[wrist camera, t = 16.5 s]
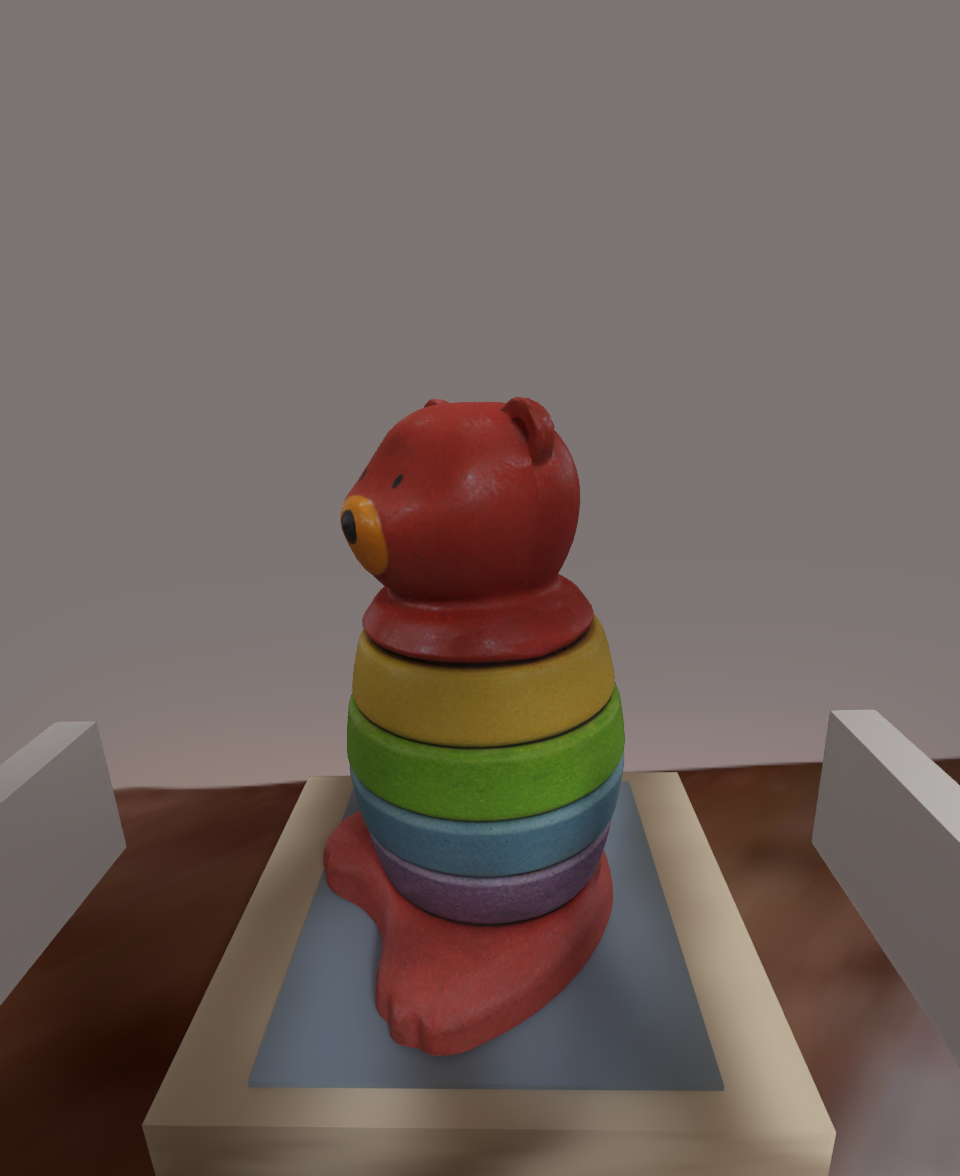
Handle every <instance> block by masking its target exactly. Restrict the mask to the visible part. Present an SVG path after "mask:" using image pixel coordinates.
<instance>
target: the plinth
mask: <svg viewBox="0 0 960 1176" xmlns="http://www.w3.org/2000/svg"><path fill="white" fill-rule="evenodd" d="M358 811H360V808H359V805H358V802H357V798H356V794H355V790H354V786H353V782H352V778H351V776H310V777H309V778H308V780H307V782H306V784H305V786H304V788H303V791H302V793H301V795H300V797H299V799H298V801H297V803H296V805H295V807H294V809H293V811H292V813H291V816H290V818H289V820H288V822H287V824H286V826H285V828H284V830H283V832H282V834H281V836H280V838H279V841H278V843H277V845H276V847H275V849H274V851H273V853H272V855H271V857H270V859H269V861H268V863H267V866H266V868H265V870H264V872H263V874H262V876H261V878H260V880H259V882H258V884H257V886H256V888H255V891H254V893H253V895H252V897H251V899H250V901H249V903H248V905H247V907H246V909H245V911H244V913H243V916H242V918H241V920H240V922H239V924H238V926H237V928H236V930H235V932H234V934H233V936H232V938H231V941H230V943H229V945H228V947H227V949H226V951H225V953H224V955H223V957H222V959H221V961H220V963H219V966H218V968H217V970H216V972H215V974H214V976H213V978H212V980H211V982H210V984H209V986H208V988H207V991H206V993H205V995H204V997H203V999H202V1001H201V1003H200V1005H199V1007H198V1009H197V1011H196V1013H195V1016H194V1018H193V1020H192V1022H191V1024H190V1026H189V1028H188V1030H187V1032H186V1034H185V1036H184V1038H183V1041H182V1043H181V1045H180V1047H179V1049H178V1051H177V1053H176V1055H175V1057H174V1059H173V1061H172V1063H171V1066H170V1068H169V1070H168V1072H167V1074H166V1076H165V1078H164V1080H163V1082H162V1084H161V1086H160V1088H159V1091H158V1093H157V1095H156V1097H155V1099H154V1101H153V1103H152V1105H151V1107H150V1109H149V1111H148V1113H147V1116H146V1118H145V1120H144V1122H143V1124H142V1128H143V1131H144V1135H145V1139H146V1142H147V1146H148V1150H149V1154H150V1157H151V1161H152V1165H153V1168H154V1172H155V1176H828V1173H829V1168H830V1163H831V1157H832V1152H833V1147H834V1141H835V1136H836V1131H835V1129H834V1127H833V1124H832V1122H831V1120H830V1118H829V1115H828V1113H827V1111H826V1109H825V1106H824V1104H823V1102H822V1099H821V1097H820V1095H819V1093H818V1090H817V1088H816V1086H815V1084H814V1081H813V1079H812V1077H811V1075H810V1072H809V1070H808V1068H807V1065H806V1063H805V1061H804V1059H803V1056H802V1054H801V1052H800V1050H799V1047H798V1045H797V1043H796V1041H795V1038H794V1036H793V1034H792V1031H791V1029H790V1027H789V1025H788V1022H787V1020H786V1018H785V1016H784V1013H783V1011H782V1009H781V1007H780V1004H779V1002H778V1000H777V998H776V995H775V993H774V991H773V988H772V986H771V984H770V982H769V979H768V977H767V975H766V973H765V970H764V968H763V966H762V964H761V961H760V959H759V957H758V954H757V952H756V950H755V948H754V945H753V943H752V941H751V939H750V936H749V934H748V932H747V930H746V927H745V925H744V923H743V920H742V918H741V916H740V914H739V911H738V909H737V907H736V905H735V902H734V900H733V898H732V896H731V893H730V891H729V889H728V887H727V884H726V882H725V880H724V877H723V875H722V873H721V871H720V868H719V866H718V864H717V862H716V859H715V857H714V855H713V853H712V850H711V848H710V846H709V843H708V841H707V839H706V837H705V834H704V832H703V830H702V828H701V825H700V823H699V821H698V819H697V816H696V814H695V812H694V809H693V807H692V805H691V803H690V800H689V798H688V796H687V794H686V791H685V789H684V787H683V785H682V782H681V780H680V778H679V776H678V773H677V772H652V773H622V778H621V784H620V790H619V795H618V799H617V803H616V808H615V810H614V813H613V816H612V820H611V824H610V829H609V833H608V837H607V841H606V844H605V847H604V851H605V854H606V857H607V860H608V864H609V868H610V872H611V877H612V884H613V906H612V911H611V915H610V919H609V921H608V924H607V926H606V929H605V931H604V934H603V936H602V938H601V940H600V942H599V944H598V945H597V947H596V949H595V951H594V952H593V954H592V955H591V957H590V958H589V960H588V961H587V963H586V964H585V965H584V967H583V968H582V969H581V970H580V972H579V973H578V974H577V975H576V977H575V978H574V979H573V980H572V981H571V982H570V983H569V984H568V985H567V986H566V987H565V989H564V990H562V991H561V992H560V993H559V994H558V995H557V996H556V997H555V998H554V999H553V1000H551V1001H550V1002H549V1003H548V1004H547V1005H546V1006H544V1007H543V1008H542V1009H541V1010H540V1011H538V1012H537V1013H535V1014H534V1015H532V1016H531V1017H529V1018H528V1019H526V1020H525V1021H524V1022H522V1023H521V1024H519V1025H517V1026H516V1027H514V1028H513V1029H511V1030H509V1031H508V1032H506V1033H504V1034H502V1035H500V1036H498V1037H496V1038H494V1039H492V1040H490V1041H488V1042H486V1043H484V1044H482V1045H480V1046H478V1047H476V1048H473V1049H471V1050H469V1051H466V1052H463V1053H460V1054H453V1055H444V1056H434V1055H430V1054H427V1053H425V1052H423V1051H422V1050H420V1049H418V1048H411V1047H406V1046H403V1045H400V1044H397V1043H395V1042H394V1040H393V1039H392V1038H391V1036H390V1027H389V1024H388V1023H387V1022H386V1021H385V1020H384V1019H383V1018H382V1017H381V1016H380V1014H379V1013H378V1011H377V1009H376V1003H375V993H376V975H377V970H378V965H379V961H380V957H381V953H382V948H383V942H382V938H381V935H380V932H379V930H378V927H377V925H376V924H375V922H374V921H373V919H372V918H371V917H370V916H369V915H368V914H367V913H366V912H365V911H364V910H363V909H361V908H360V907H359V906H357V905H355V904H354V903H352V902H350V901H348V900H346V899H344V898H342V897H340V896H338V895H337V894H336V893H334V892H333V891H332V890H331V889H330V887H329V886H328V884H327V881H326V873H327V871H326V870H325V868H324V864H323V853H324V847H325V844H326V842H327V840H328V838H329V836H330V835H331V834H332V832H333V831H334V830H335V829H336V828H337V827H338V825H339V824H340V823H341V822H342V821H343V820H344V819H345V818H347V817H349V816H351V815H353V814H355V813H356V812H358Z"/></svg>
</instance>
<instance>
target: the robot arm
mask: <svg viewBox="0 0 960 1176" xmlns="http://www.w3.org/2000/svg"><path fill="white" fill-rule="evenodd" d="M812 844H813V845H814V847H815V848H816V850H817V851H818V853H819V854H820V856H821V857H822V859H823V860H824V862H825V863H826V865H827V866H828V868H829V869H830V871H831V872H832V874H833V875H834V877H835V878H836V880H837V881H838V883H839V884H840V886H841V887H842V889H843V890H844V892H845V893H846V895H847V896H848V898H849V899H850V901H851V902H852V904H853V906H854V907H855V909H856V910H857V912H858V913H859V915H860V916H861V918H862V919H863V921H864V922H865V924H866V925H867V927H868V928H869V930H870V931H871V933H872V934H873V936H874V937H875V939H876V940H877V942H878V943H879V945H880V946H881V948H882V949H883V951H884V952H885V954H886V955H887V957H888V958H889V960H890V961H891V963H892V964H893V966H894V967H895V969H896V970H897V972H898V973H899V975H900V976H901V978H902V979H903V981H904V982H905V984H906V986H907V987H908V989H909V990H910V992H911V993H912V995H913V996H914V998H915V999H916V1001H917V1002H918V1004H919V1005H920V1007H921V1008H922V1010H923V1011H924V1013H925V1014H926V1016H927V1017H928V1019H929V1020H930V1022H931V1023H932V1025H933V1026H934V1028H935V1029H936V1031H937V1032H938V1034H939V1035H940V1037H941V1038H942V1040H943V1041H944V1043H945V1044H946V1046H947V1047H948V1049H949V1050H950V1052H951V1053H952V1055H953V1056H954V1058H955V1059H956V1061H957V1063H958V1064H959V1066H960V785H959V784H958V783H956V782H955V781H954V780H953V779H952V778H951V777H950V776H949V775H948V774H946V773H945V772H944V771H943V770H942V769H941V768H940V767H939V766H938V765H936V764H935V763H934V762H933V761H932V760H931V759H930V758H929V757H927V756H926V755H925V754H924V753H923V752H922V751H921V750H920V749H919V748H917V747H916V746H915V745H914V744H913V743H912V742H911V741H910V740H909V739H907V738H906V737H905V736H904V735H903V734H902V733H901V732H899V731H898V730H897V729H896V728H895V727H894V726H893V725H892V724H891V723H890V722H888V721H887V720H886V719H885V718H884V717H883V716H882V715H881V714H880V713H878V712H877V711H876V710H831V711H830V716H829V723H828V730H827V737H826V744H825V751H824V758H823V765H822V772H821V779H820V786H819V793H818V800H817V808H816V815H815V822H814V829H813V836H812ZM125 848H126V843H125V839H124V834H123V830H122V826H121V822H120V818H119V813H118V809H117V805H116V801H115V797H114V792H113V788H112V785H111V780H110V775H109V771H108V767H107V764H106V759H105V755H104V751H103V746H102V742H101V738H100V734H99V729H98V725H97V722H96V721H95V722H94V721H89V722H55V723H54V724H53V725H51V726H50V727H49V728H48V729H46V730H45V731H44V732H42V733H41V734H40V735H38V736H37V737H36V738H35V739H33V740H32V741H31V742H30V743H28V744H27V745H26V746H24V747H23V748H22V749H20V750H19V751H18V752H17V753H15V754H14V755H13V756H12V757H10V758H9V759H8V760H6V761H5V762H4V763H3V764H1V765H0V1005H1V1004H2V1003H3V1001H4V1000H5V999H6V998H7V996H8V995H9V994H10V993H11V991H12V990H13V989H14V988H15V986H16V985H17V984H18V983H19V981H20V980H21V979H22V978H23V976H24V975H25V974H26V973H27V971H28V970H29V969H30V968H31V966H32V965H33V964H34V963H35V961H36V960H37V959H38V957H39V956H40V955H41V954H42V952H43V951H44V950H45V949H46V947H47V946H48V945H49V944H50V942H51V941H52V940H53V939H54V937H55V936H56V935H57V934H58V932H59V931H60V930H61V929H62V927H63V926H64V925H65V924H66V922H67V921H68V920H69V919H70V917H71V916H72V915H73V914H74V912H75V911H76V910H77V909H78V907H79V906H80V905H81V904H82V902H83V901H84V900H85V898H86V897H87V896H88V895H89V893H90V892H91V891H92V890H93V888H94V887H95V886H96V885H97V883H98V882H99V881H100V880H101V878H102V877H103V876H104V875H105V873H106V872H107V871H108V870H109V868H110V867H111V866H112V865H113V863H114V862H115V861H116V860H117V858H118V857H119V856H120V855H121V853H122V852H123V851H124V850H125Z"/></svg>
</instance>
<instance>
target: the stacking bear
mask: <svg viewBox="0 0 960 1176" xmlns="http://www.w3.org/2000/svg"><path fill="white" fill-rule="evenodd" d="M579 508H580V486H579V478H578V474H577V470H576V467H575V464H574V461H573V458H572V456H571V454H570V452H569V450H568V448H567V446H566V445H565V443H564V442H563V440H562V439H561V437H560V436H559V435H558V434H557V432H556V431H555V430H554V424H553V422H552V420H551V417H550V415H549V413H548V412H547V411H546V409H545V408H544V407H543V406H542V405H540V404H539V403H537V402H535V401H533V400H531V399H529V398H521V397H515V398H513V399H511V400H510V401H508V403H501V402H460V403H448V402H446V401H443V400H440V399H431V400H429V401H428V402H427V403H426V404H425V406H424V408H423V409H420V410H417V411H415V412H413V413H411V414H409V415H408V416H406V417H405V418H403V419H402V420H401V421H399V422H398V423H397V424H396V425H395V426H394V427H393V428H392V429H391V430H390V431H389V432H388V433H387V435H386V436H385V438H384V439H383V441H382V443H381V444H380V446H379V447H378V449H377V451H376V452H375V454H374V456H373V457H372V459H371V460H370V462H369V464H368V465H367V467H366V468H365V470H364V471H363V473H362V475H361V476H360V478H359V480H358V481H357V482H356V484H355V485H354V487H353V488H352V489H351V491H350V492H349V494H348V495H347V497H346V499H345V502H344V505H343V507H342V511H341V526H342V530H343V532H344V535H345V538H346V540H347V542H348V544H349V546H350V548H351V550H352V551H353V553H354V555H355V557H356V558H357V560H358V561H359V562H360V563H361V565H362V566H363V567H364V568H365V569H366V570H367V571H368V572H370V573H371V574H372V575H373V576H374V577H375V578H376V579H377V580H379V581H380V582H381V583H382V584H383V585H384V586H385V587H383V589H381V590H380V592H379V593H378V594H377V595H376V596H375V598H374V600H373V601H372V603H371V604H370V606H369V607H368V609H367V610H366V612H365V614H364V616H363V619H362V621H363V628H364V629H363V631H362V633H361V635H360V638H359V642H358V646H357V653H356V658H355V665H354V672H353V687H352V688H353V692H352V695H351V698H350V702H349V710H348V725H347V754H348V759H349V763H350V773H351V778H352V782H353V786H354V790H355V794H356V798H357V802H358V805H359V808H360V811H358V812H356V813H355V814H353V815H351V816H349V817H347V818H345V819H344V820H343V821H342V822H341V823H340V824H339V825H338V827H337V828H336V829H335V830H334V831H333V832H332V834H331V835H330V836H329V838H328V840H327V842H326V844H325V847H324V853H323V864H324V868H325V870H326V871H327V873H326V881H327V884H328V886H329V887H330V889H331V890H332V891H333V892H334V893H336V894H337V895H338V896H340V897H342V898H344V899H346V900H348V901H350V902H352V903H354V904H355V905H357V906H359V907H360V908H361V909H363V910H364V911H365V912H366V913H367V914H368V915H369V916H370V917H371V918H372V919H373V921H374V922H375V924H376V925H377V927H378V930H379V932H380V935H381V938H382V942H383V948H382V953H381V957H380V961H379V965H378V970H377V975H376V993H375V1003H376V1009H377V1011H378V1013H379V1014H380V1016H381V1017H382V1018H383V1019H384V1020H385V1021H386V1022H387V1023H388V1024H389V1027H390V1036H391V1038H392V1039H393V1040H394V1042H395V1043H397V1044H400V1045H403V1046H406V1047H411V1048H418V1049H420V1050H422V1051H423V1052H425V1053H427V1054H430V1055H434V1056H444V1055H453V1054H460V1053H463V1052H466V1051H469V1050H471V1049H473V1048H476V1047H478V1046H480V1045H482V1044H484V1043H486V1042H488V1041H490V1040H492V1039H494V1038H496V1037H498V1036H500V1035H502V1034H504V1033H506V1032H508V1031H509V1030H511V1029H513V1028H514V1027H516V1026H517V1025H519V1024H521V1023H522V1022H524V1021H525V1020H526V1019H528V1018H529V1017H531V1016H532V1015H534V1014H535V1013H537V1012H538V1011H540V1010H541V1009H542V1008H543V1007H544V1006H546V1005H547V1004H548V1003H549V1002H550V1001H551V1000H553V999H554V998H555V997H556V996H557V995H558V994H559V993H560V992H561V991H562V990H564V989H565V987H566V986H567V985H568V984H569V983H570V982H571V981H572V980H573V979H574V978H575V977H576V975H577V974H578V973H579V972H580V970H581V969H582V968H583V967H584V965H585V964H586V963H587V961H588V960H589V958H590V957H591V955H592V954H593V952H594V951H595V949H596V947H597V945H598V944H599V942H600V940H601V938H602V936H603V934H604V931H605V929H606V926H607V924H608V921H609V919H610V915H611V911H612V906H613V884H612V877H611V872H610V868H609V864H608V860H607V857H606V854H605V851H604V847H605V844H606V841H607V837H608V833H609V829H610V824H611V820H612V816H613V813H614V810H615V808H616V803H617V799H618V795H619V790H620V784H621V778H622V772H623V766H624V752H623V751H624V743H625V734H624V723H623V714H622V708H621V701H620V695H619V691H618V688H617V686H616V683H615V681H614V678H615V676H614V669H613V664H612V658H611V654H610V650H609V645H608V642H607V639H606V635H605V632H604V629H603V627H602V625H601V623H600V621H599V620H598V618H597V617H596V616H595V614H594V613H593V609H592V606H591V604H590V603H589V601H588V600H587V598H586V597H585V596H584V594H583V593H582V592H581V591H580V589H579V588H578V587H577V586H576V585H575V584H574V583H573V582H571V581H570V580H568V579H567V578H565V577H563V576H562V575H559V574H558V573H559V571H560V569H561V567H562V565H563V563H564V561H565V559H566V557H567V555H568V553H569V550H570V547H571V545H572V543H573V540H574V536H575V532H576V528H577V523H578V516H579Z"/></svg>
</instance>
